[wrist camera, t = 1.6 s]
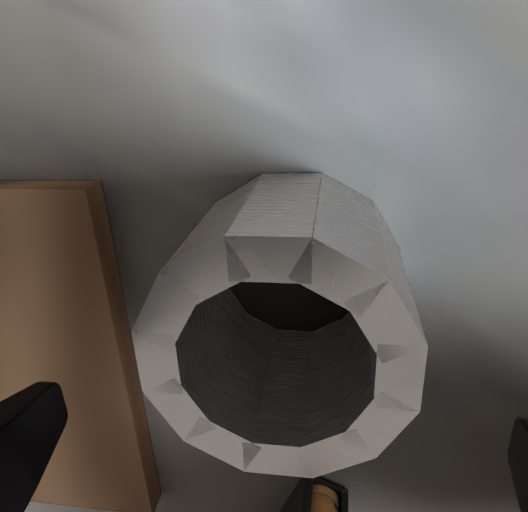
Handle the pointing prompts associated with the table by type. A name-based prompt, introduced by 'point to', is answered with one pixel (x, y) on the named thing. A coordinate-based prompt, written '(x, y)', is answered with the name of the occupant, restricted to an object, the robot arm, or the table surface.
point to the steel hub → (285, 332)
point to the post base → (74, 342)
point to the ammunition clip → (316, 497)
